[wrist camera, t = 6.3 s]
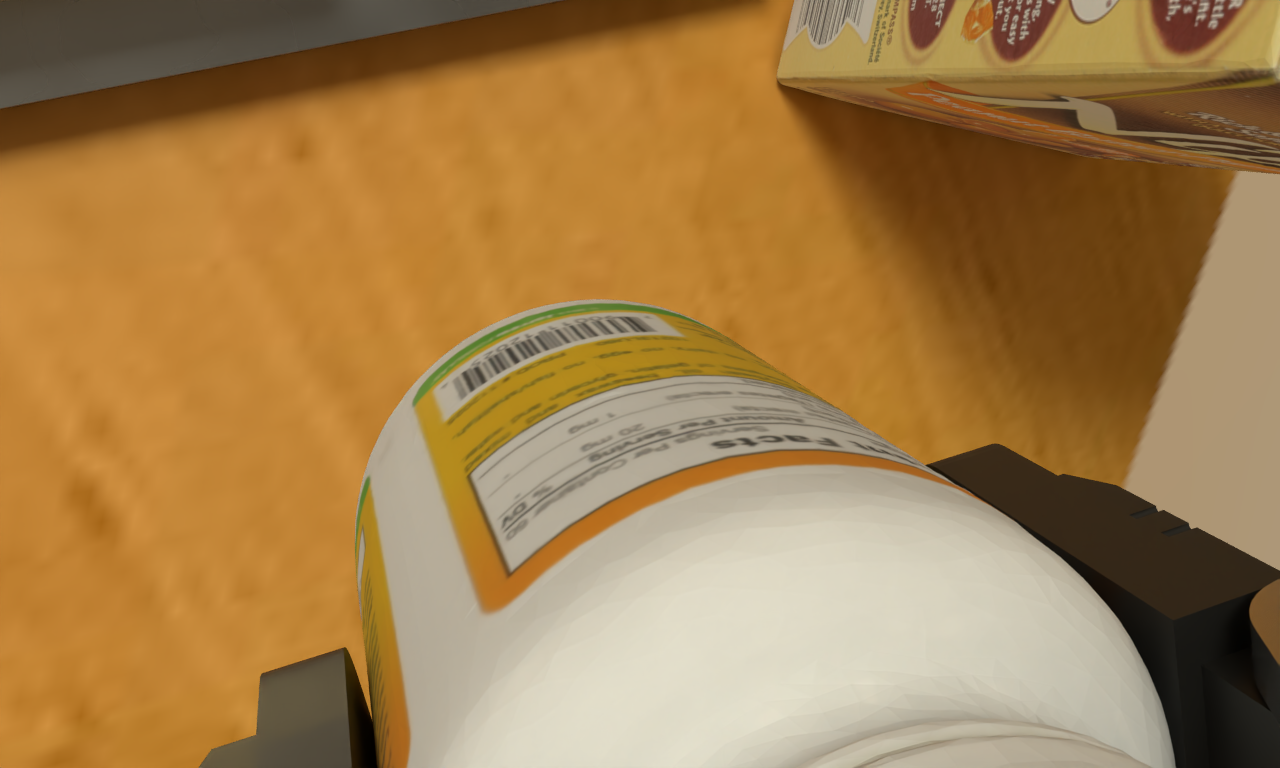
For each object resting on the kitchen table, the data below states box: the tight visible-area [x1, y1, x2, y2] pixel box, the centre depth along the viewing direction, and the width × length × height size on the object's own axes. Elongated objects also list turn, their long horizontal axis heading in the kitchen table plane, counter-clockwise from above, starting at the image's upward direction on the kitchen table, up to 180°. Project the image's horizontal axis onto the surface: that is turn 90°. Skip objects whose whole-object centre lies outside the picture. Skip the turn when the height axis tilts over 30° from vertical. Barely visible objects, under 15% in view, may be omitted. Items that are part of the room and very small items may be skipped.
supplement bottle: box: [355, 299, 1176, 768], centre depth 10 cm, size 5×5×10 cm
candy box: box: [777, 0, 1280, 174], centre depth 22 cm, size 9×4×15 cm, turn 78°
